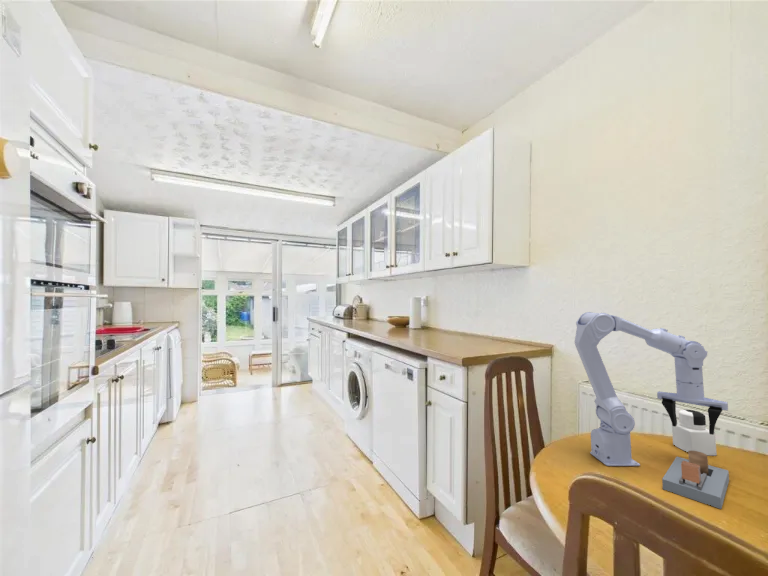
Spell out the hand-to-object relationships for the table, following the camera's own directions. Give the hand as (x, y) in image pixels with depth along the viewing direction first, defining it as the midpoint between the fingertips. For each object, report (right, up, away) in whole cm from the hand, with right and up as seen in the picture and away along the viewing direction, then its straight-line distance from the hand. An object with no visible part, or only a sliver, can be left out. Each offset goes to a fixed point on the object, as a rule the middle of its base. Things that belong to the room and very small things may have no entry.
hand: (692, 429), depth 90 cm
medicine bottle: (+8, -10, +8) cm, 16 cm away
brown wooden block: (-6, -10, -8) cm, 14 cm away
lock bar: (-12, -7, -13) cm, 19 cm away
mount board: (-9, -10, -10) cm, 17 cm away
